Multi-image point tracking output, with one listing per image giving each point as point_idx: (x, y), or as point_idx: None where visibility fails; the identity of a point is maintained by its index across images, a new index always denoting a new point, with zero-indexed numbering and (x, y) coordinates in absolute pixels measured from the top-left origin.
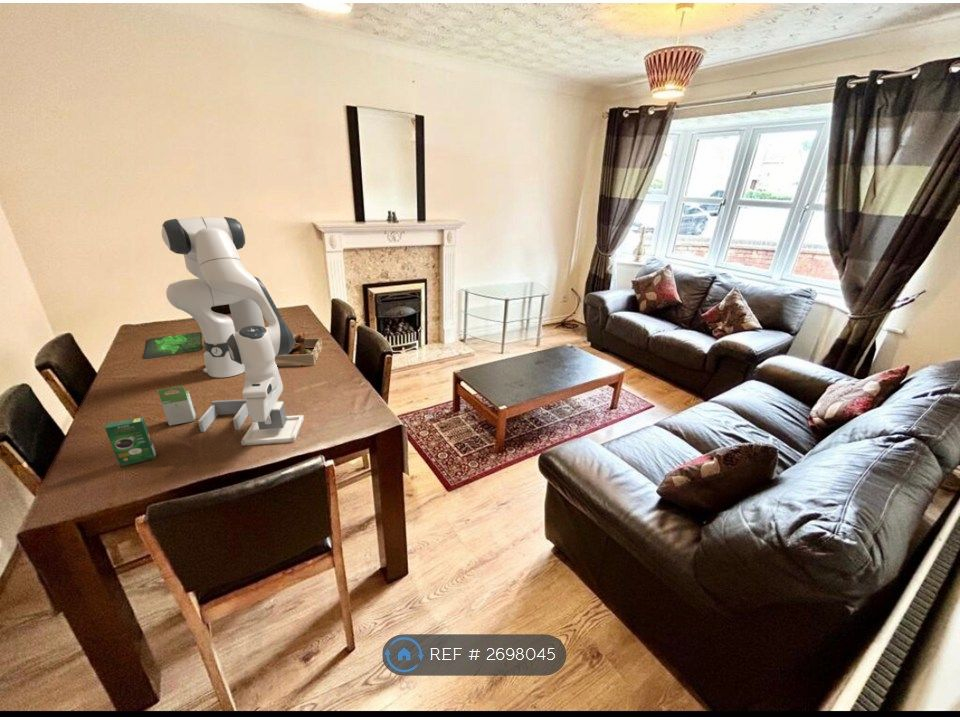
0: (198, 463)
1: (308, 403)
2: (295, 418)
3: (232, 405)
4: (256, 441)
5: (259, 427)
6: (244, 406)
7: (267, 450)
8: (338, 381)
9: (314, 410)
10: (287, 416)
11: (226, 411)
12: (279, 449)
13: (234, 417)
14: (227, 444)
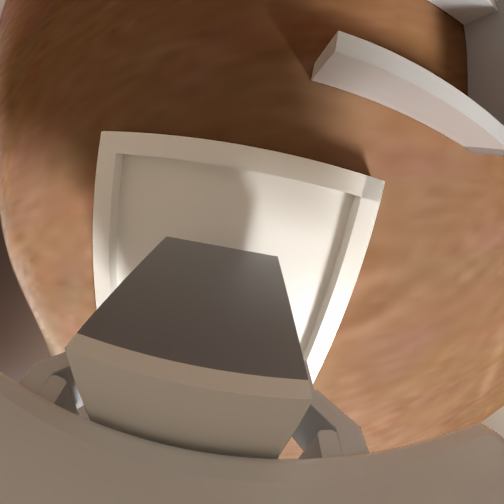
0: (64, 11)
1: (410, 387)
2: None
3: (501, 74)
4: (97, 218)
5: (159, 246)
6: (486, 127)
7: (64, 267)
8: (463, 418)
9: (345, 414)
10: (319, 360)
11: (476, 50)
12: (70, 311)
13: (365, 43)
14: (155, 52)
